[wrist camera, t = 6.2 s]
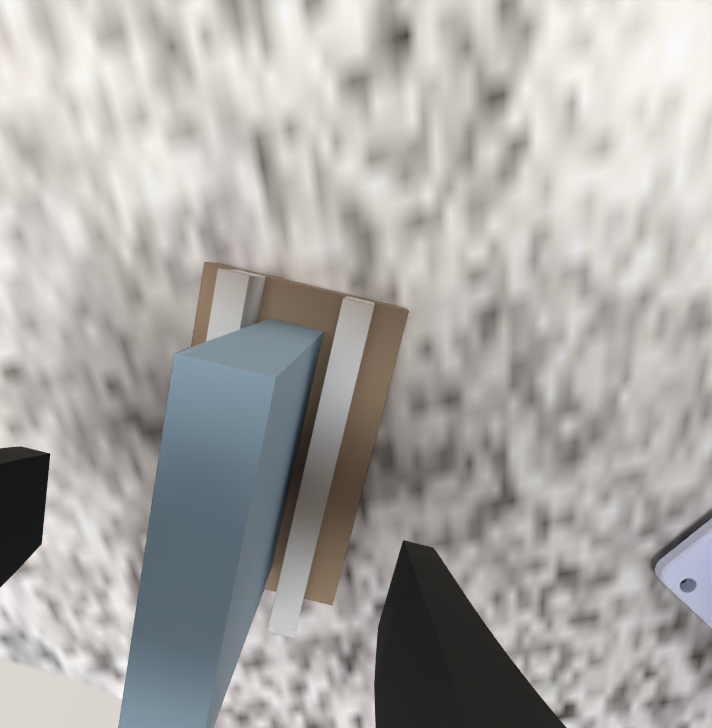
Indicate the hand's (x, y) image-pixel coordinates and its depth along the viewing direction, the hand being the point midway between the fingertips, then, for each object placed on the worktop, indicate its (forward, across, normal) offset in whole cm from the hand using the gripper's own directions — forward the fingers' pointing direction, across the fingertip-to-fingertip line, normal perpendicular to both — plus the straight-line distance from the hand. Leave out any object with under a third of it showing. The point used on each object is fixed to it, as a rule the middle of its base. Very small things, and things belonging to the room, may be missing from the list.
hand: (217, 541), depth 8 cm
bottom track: (+6, 0, 0) cm, 6 cm away
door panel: (+5, 0, 0) cm, 5 cm away
